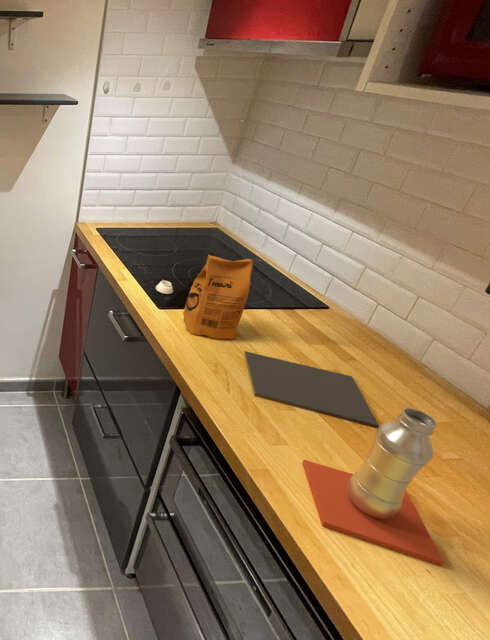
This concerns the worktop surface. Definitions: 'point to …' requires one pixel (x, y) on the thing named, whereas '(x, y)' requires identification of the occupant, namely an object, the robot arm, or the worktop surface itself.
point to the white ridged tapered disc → (164, 287)
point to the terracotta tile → (368, 516)
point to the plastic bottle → (392, 464)
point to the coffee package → (218, 298)
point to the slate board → (308, 388)
